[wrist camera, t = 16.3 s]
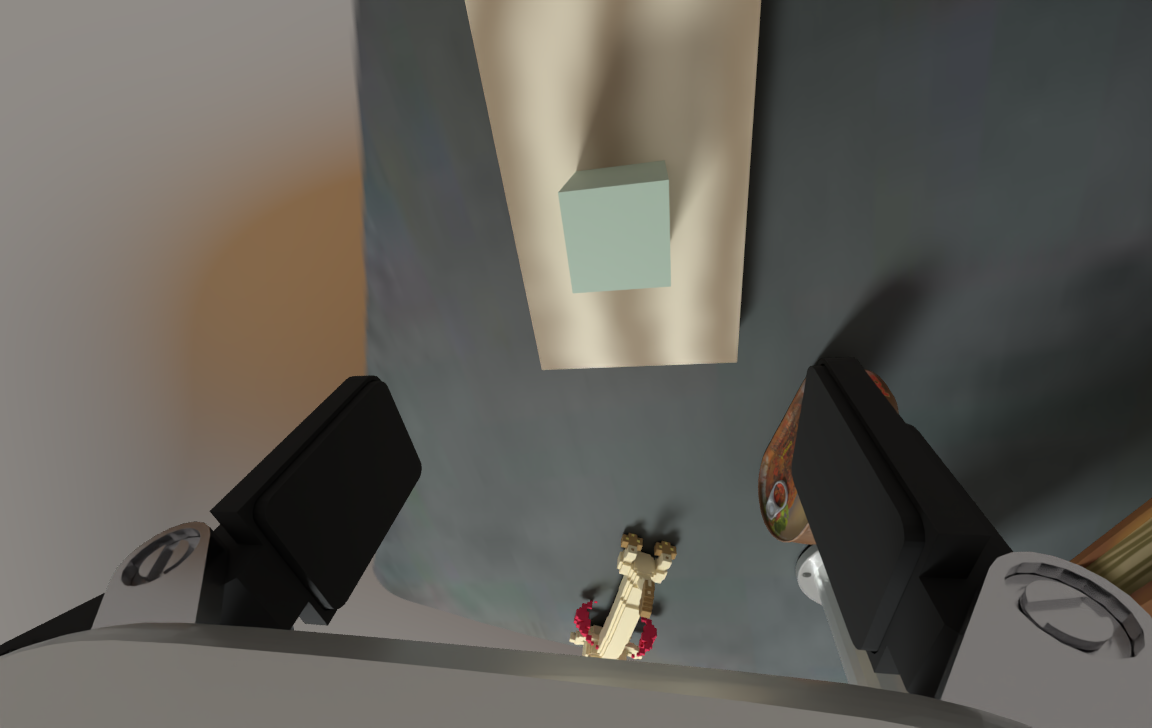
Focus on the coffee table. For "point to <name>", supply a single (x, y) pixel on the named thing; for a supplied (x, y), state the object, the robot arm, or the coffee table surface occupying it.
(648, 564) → the cream elongated piece
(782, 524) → the tin
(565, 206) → the block
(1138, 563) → the diary
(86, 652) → the robot arm
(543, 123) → the base block
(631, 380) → the coffee table surface
